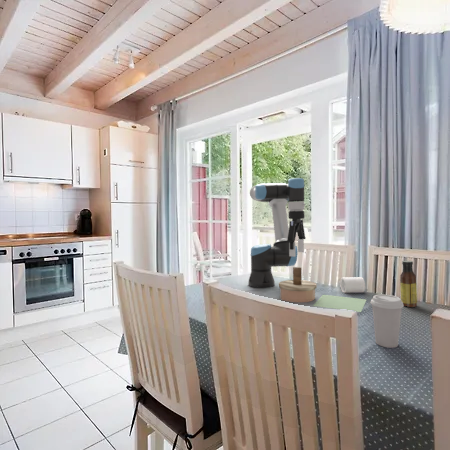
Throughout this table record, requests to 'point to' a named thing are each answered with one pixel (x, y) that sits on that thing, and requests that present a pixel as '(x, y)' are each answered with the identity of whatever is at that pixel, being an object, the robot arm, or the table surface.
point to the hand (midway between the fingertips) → (296, 254)
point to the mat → (340, 303)
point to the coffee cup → (387, 319)
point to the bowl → (297, 295)
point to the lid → (297, 282)
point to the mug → (352, 284)
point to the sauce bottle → (408, 285)
